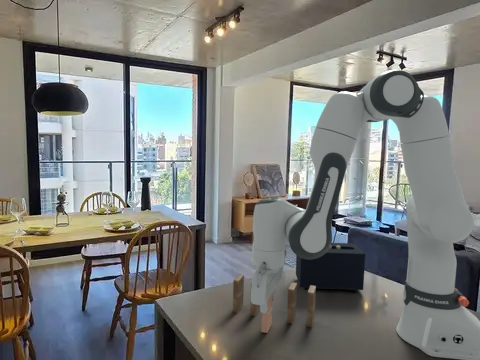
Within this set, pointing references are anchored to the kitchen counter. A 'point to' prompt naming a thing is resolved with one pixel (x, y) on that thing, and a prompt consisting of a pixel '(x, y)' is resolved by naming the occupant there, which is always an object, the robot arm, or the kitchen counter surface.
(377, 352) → the kitchen counter surface
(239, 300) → the domino
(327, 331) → the kitchen counter surface
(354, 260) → the speaker
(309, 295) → the domino
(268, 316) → the domino
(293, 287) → the domino
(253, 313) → the domino
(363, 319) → the kitchen counter surface
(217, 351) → the kitchen counter surface
